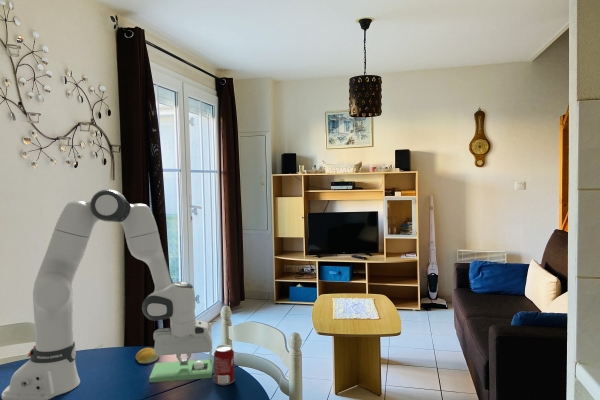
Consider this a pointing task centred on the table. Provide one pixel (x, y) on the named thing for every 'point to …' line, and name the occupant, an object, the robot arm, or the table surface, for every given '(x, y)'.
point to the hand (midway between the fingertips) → (184, 364)
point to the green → (181, 370)
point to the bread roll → (146, 356)
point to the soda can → (224, 365)
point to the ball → (198, 365)
